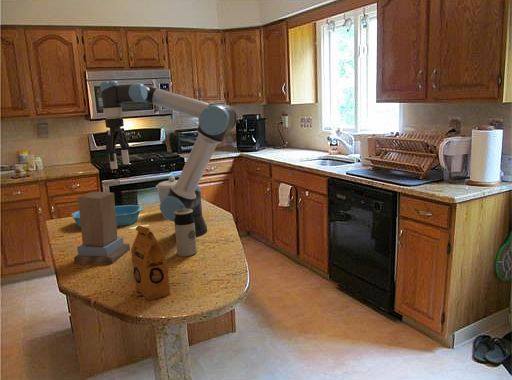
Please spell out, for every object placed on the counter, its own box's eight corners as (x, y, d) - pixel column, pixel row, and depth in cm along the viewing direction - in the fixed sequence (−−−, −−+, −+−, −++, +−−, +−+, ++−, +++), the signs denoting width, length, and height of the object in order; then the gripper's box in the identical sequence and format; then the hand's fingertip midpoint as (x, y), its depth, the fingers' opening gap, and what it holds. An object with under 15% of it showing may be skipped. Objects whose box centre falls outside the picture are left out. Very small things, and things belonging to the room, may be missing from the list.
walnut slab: (130, 251, 181) (129, 243, 181) (112, 265, 166) (111, 257, 165) (95, 251, 184) (94, 243, 183) (75, 265, 168) (74, 257, 167)
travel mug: (173, 253, 173) (169, 211, 170) (190, 248, 178) (186, 207, 175) (183, 258, 167) (179, 214, 164) (200, 253, 172) (197, 210, 169)
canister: (181, 207, 252) (177, 172, 247) (197, 212, 238) (193, 175, 233) (153, 213, 240) (149, 177, 236) (168, 219, 227) (164, 180, 222)
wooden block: (97, 236, 179) (93, 191, 174) (118, 238, 176) (114, 192, 172) (82, 244, 170) (77, 196, 165) (103, 247, 167) (99, 198, 162)
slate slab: (123, 245, 179) (122, 237, 178) (107, 256, 167) (106, 247, 166) (96, 244, 182) (95, 236, 181) (78, 255, 169) (76, 247, 169)
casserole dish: (146, 214, 239) (145, 202, 238) (142, 225, 217) (140, 212, 216) (79, 220, 234) (77, 208, 233) (67, 232, 213) (65, 218, 211)
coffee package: (144, 304, 130) (136, 236, 126) (132, 290, 141) (124, 227, 136) (174, 294, 135) (168, 229, 131) (161, 282, 146) (154, 221, 141)
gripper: (116, 117, 195) (123, 162, 199) (92, 119, 171) (100, 171, 175) (132, 116, 194) (138, 161, 198) (110, 118, 170) (117, 170, 174)
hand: (120, 166), depth 187 cm, fingers open, 13 cm apart
